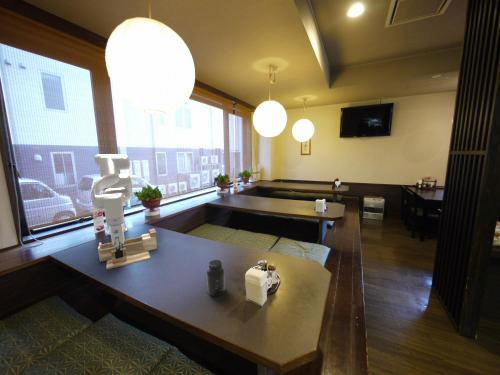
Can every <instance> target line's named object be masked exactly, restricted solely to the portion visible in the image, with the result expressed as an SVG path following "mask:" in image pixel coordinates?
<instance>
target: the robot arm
mask: <svg viewBox="0 0 500 375" xmlns="http://www.w3.org/2000/svg"><path fill="white" fill-rule="evenodd" d="M93 159H94V162H95V164H96V166H98V167H99V170H100V171H99V172H100V178H99V179H98V180H97V181H96V182H95V183H94V185H93V186H92V189H91V192H90V193H91V204H92V207H93V209H95V210H98V211H99V210H101V211H102V210H104V216H105V223H106V224H105V225H106V226H107V227H108V230H107V232H106V235H108V236H110V238H111V243H112V244H113V246H115V258H116V259H118V258H123V250H122V248H123V245H122V244H124V243H125V240H126V239H125V233H127V231H128V228H127V227H125V216H124V215H125V214H124V206H125V205H126V203H127V201H131V200H132V199H133V186H132V185H133V183H132V178H131V176H130V174H126V173H121V174H120V172H119V171H120V170H121V171H123V170H125V171H126V170H129V169H130V167H131V162H130V158H129V157H128V155H127V154H125V153H124V154H121V153H120V154H117V153H116V154H112V153H111V154H110V153H109V154H104V153H103V154H96V155H95V156H94V158H93ZM104 189H105V190H104ZM103 190H104V191H103ZM101 191H103V193H102V194H99V193H100V192H101ZM115 244H116V245H115Z"/></svg>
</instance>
